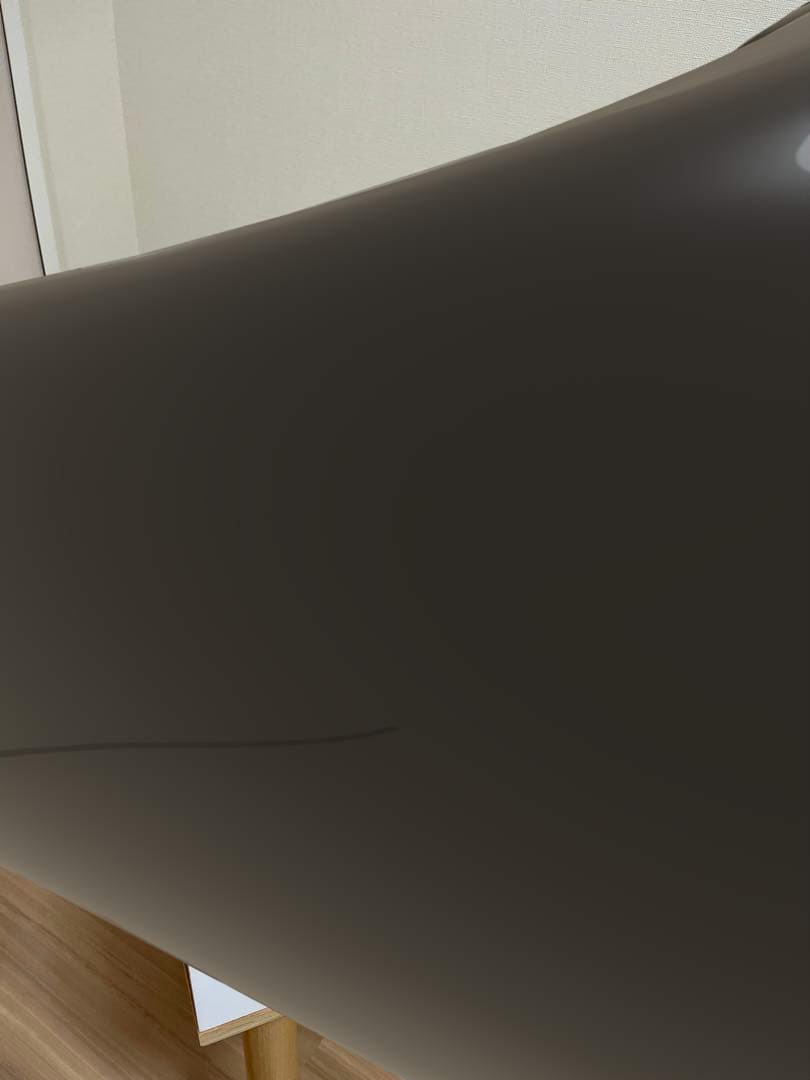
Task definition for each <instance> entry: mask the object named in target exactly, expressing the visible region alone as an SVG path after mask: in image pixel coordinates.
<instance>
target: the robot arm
mask: <svg viewBox="0 0 810 1080" xmlns="http://www.w3.org/2000/svg"><path fill="white" fill-rule="evenodd" d="M0 867H1V868H3V869H5V870H7V871H9V872H11V873H13V874H14V875H17V876H19V877H21V878H23V879H24V880H27V881H29V882H30V883H32V884H33V885H36V886H38V887H40V888H42V889H43V890H46V891H47V892H49V893H52V894H53V895H55V896H57V897H59V898H61V899H63V900H65V901H66V902H68V903H70V904H72V905H73V906H75V907H78V908H80V909H81V910H83V911H86V912H87V913H89V914H91V915H93V916H95V917H96V918H99V919H100V920H102V921H104V922H106V923H107V924H110V925H112V926H113V927H115V928H117V929H118V930H121V931H123V932H125V933H126V934H128V935H130V936H132V937H134V938H136V939H138V940H139V941H141V942H144V943H145V944H147V945H149V946H151V947H153V948H154V949H157V950H159V951H161V952H162V953H164V954H165V955H168V956H170V957H172V958H173V959H174V960H175V959H176V960H177V961H180V962H181V963H183V964H185V965H187V966H189V967H191V968H192V969H195V970H196V971H198V972H200V973H202V974H204V975H205V976H208V977H209V978H212V979H213V980H215V981H216V982H219V983H221V984H223V985H224V986H227V987H228V988H230V989H233V990H234V991H236V992H238V993H240V994H242V995H243V996H245V997H247V998H248V999H251V1000H253V1001H255V1002H256V1003H258V1004H260V1005H261V1006H262V1005H263V1006H265V1007H266V1008H267V1009H270V1010H271V1011H274V1012H276V1013H277V1014H279V1015H280V1016H283V1017H285V1018H287V1019H289V1020H291V1021H292V1022H294V1023H297V1024H298V1025H300V1026H302V1027H304V1028H305V1029H307V1030H309V1031H311V1032H313V1033H315V1034H317V1035H319V1036H321V1037H323V1038H324V1039H327V1040H329V1041H330V1042H333V1044H336V1045H338V1046H340V1047H342V1048H343V1049H345V1050H347V1051H349V1052H351V1053H352V1054H355V1055H356V1056H359V1057H360V1058H362V1059H364V1060H366V1061H368V1062H370V1063H372V1064H374V1065H376V1066H378V1067H379V1068H381V1069H383V1070H385V1071H387V1072H389V1073H390V1074H393V1075H394V1076H396V1077H398V1078H399V1079H402V1080H810V0H809V1H807V2H805V3H803V4H802V5H800V6H799V7H797V8H796V9H794V10H791V11H790V12H789V13H787V14H786V15H784V16H783V17H782V18H780V19H779V20H777V21H775V22H773V23H772V24H771V25H769V26H767V27H766V28H764V29H762V30H761V31H759V32H758V33H756V34H755V35H753V36H752V37H750V38H748V39H747V40H746V41H744V42H743V43H741V44H740V45H739V46H738V47H737V48H735V49H734V50H732V51H730V52H729V53H727V54H724V55H722V56H719V57H718V58H716V59H713V60H711V61H709V62H707V63H704V64H702V65H700V66H698V67H696V68H693V69H691V70H688V71H687V72H684V73H681V74H679V75H677V76H675V77H672V78H670V79H667V80H665V81H662V82H660V83H658V84H655V85H653V86H650V87H647V88H645V89H643V90H641V91H639V92H636V93H634V94H631V95H629V96H626V97H624V98H622V99H619V100H617V101H614V102H612V103H610V104H607V105H604V106H602V107H600V108H597V109H594V110H591V111H589V112H586V113H584V114H582V115H579V116H576V117H574V118H571V119H568V120H566V121H564V122H561V123H558V124H556V125H553V126H550V127H548V128H545V129H543V130H540V131H538V132H535V133H533V134H530V135H528V136H525V137H521V138H520V139H517V140H515V141H512V142H508V143H505V144H501V145H498V146H494V147H491V148H487V149H485V150H482V151H479V152H476V153H475V152H474V153H472V154H470V155H469V154H468V155H466V156H463V157H459V158H457V159H454V160H451V161H448V162H445V163H441V164H438V165H434V166H432V167H429V168H426V169H423V170H420V171H416V172H413V173H410V174H408V175H404V176H402V177H398V178H395V179H392V180H389V181H385V182H383V183H380V184H377V185H373V186H370V187H366V188H364V189H361V190H358V191H355V192H352V193H348V194H345V195H342V196H339V197H336V198H333V199H329V200H326V201H322V202H321V203H317V204H314V205H311V206H307V207H306V208H302V209H298V210H295V211H293V212H290V213H287V214H283V215H279V216H276V217H272V218H268V219H265V220H262V221H261V220H260V221H258V222H254V223H250V224H246V225H243V226H240V227H235V228H232V229H229V230H225V231H220V232H217V233H213V234H210V235H206V236H203V237H199V238H196V239H195V238H194V239H191V240H187V241H184V242H181V243H177V244H174V245H170V246H166V247H161V248H159V249H154V250H152V251H151V250H150V251H147V252H144V253H140V254H135V255H132V256H127V257H122V258H117V259H113V260H108V261H104V262H101V263H96V264H91V265H86V266H82V267H78V268H73V269H68V270H64V271H59V272H55V273H51V274H47V275H42V276H37V277H33V278H28V279H24V280H20V281H15V282H10V283H6V284H2V285H1V284H0Z"/></svg>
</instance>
